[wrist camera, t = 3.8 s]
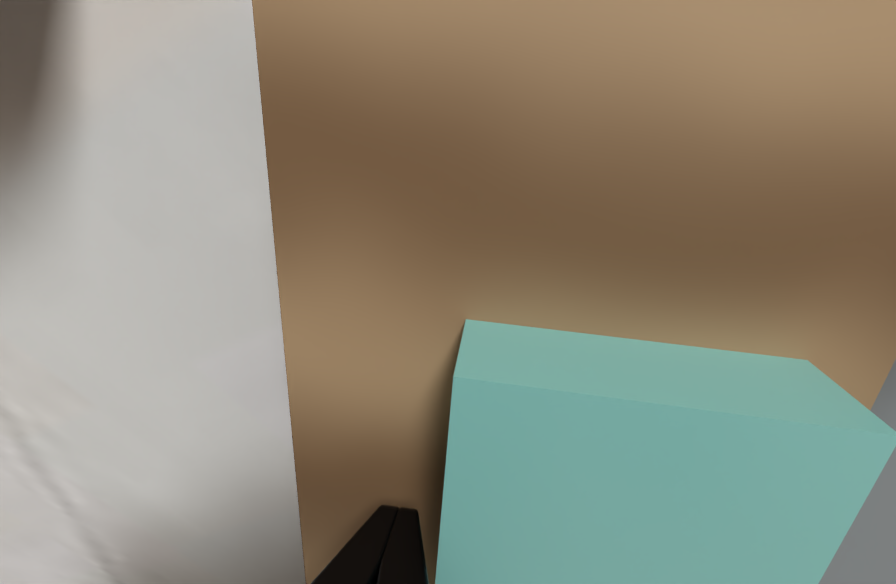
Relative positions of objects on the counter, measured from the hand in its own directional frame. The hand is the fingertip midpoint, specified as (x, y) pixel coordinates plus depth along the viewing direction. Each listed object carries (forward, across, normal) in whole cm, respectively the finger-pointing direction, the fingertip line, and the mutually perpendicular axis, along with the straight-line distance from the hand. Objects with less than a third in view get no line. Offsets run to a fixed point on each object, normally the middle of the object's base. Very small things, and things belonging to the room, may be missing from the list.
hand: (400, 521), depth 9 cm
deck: (+5, -3, 0) cm, 6 cm away
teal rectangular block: (+1, -4, 0) cm, 4 cm away
